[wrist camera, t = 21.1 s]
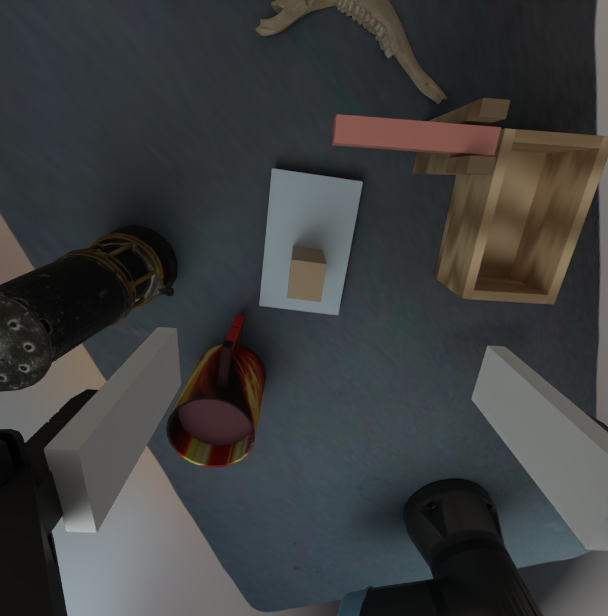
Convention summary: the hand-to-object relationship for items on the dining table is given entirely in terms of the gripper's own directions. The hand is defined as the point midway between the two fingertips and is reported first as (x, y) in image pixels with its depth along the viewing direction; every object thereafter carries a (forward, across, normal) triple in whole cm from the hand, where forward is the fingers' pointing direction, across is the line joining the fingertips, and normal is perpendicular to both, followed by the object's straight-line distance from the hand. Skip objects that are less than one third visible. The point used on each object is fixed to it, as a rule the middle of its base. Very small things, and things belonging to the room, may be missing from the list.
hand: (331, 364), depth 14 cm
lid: (+28, 0, 0) cm, 28 cm away
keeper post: (+29, -12, -11) cm, 33 cm away
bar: (+19, -7, -11) cm, 23 cm away
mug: (+29, +10, +18) cm, 35 cm away
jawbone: (+29, -3, -19) cm, 35 cm away
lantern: (+29, +21, +4) cm, 36 cm away
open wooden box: (+29, -21, -4) cm, 36 cm away
